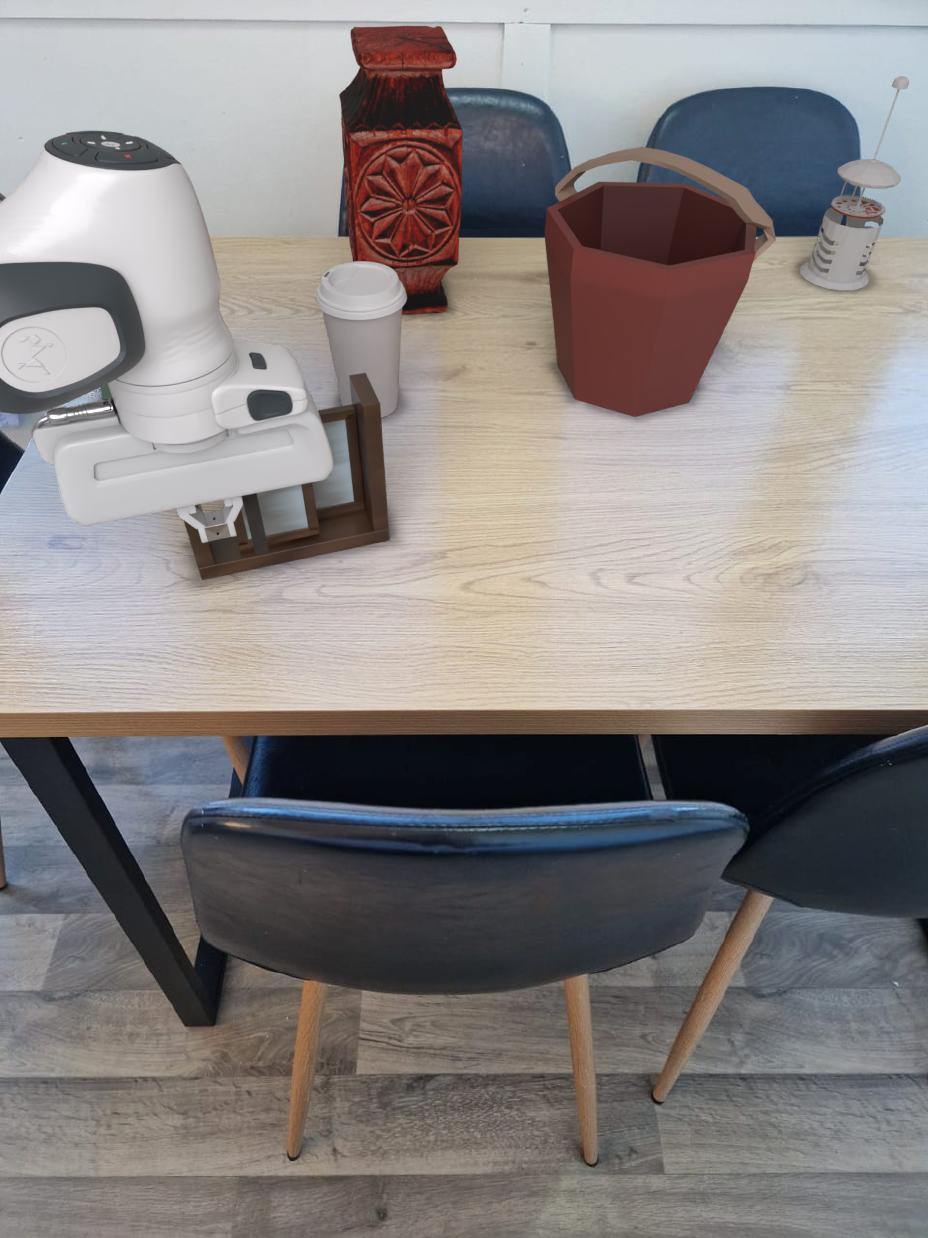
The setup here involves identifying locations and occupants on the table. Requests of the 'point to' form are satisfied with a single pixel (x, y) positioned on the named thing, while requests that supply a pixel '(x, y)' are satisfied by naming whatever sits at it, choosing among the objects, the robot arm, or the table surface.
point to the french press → (852, 223)
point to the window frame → (325, 494)
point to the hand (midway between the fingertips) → (218, 534)
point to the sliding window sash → (276, 517)
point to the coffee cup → (364, 326)
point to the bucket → (647, 279)
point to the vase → (403, 159)
